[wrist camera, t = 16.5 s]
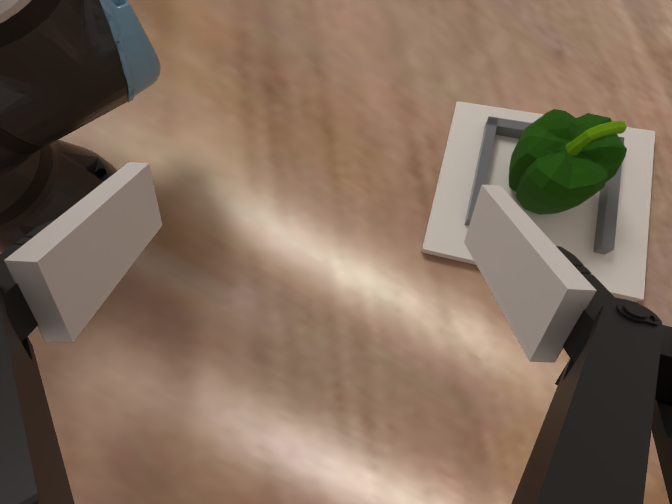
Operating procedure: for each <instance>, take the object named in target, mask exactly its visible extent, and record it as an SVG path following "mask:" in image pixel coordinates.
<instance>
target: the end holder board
mask: <svg viewBox="0 0 672 504" xmlns="http://www.w3.org/2000/svg"><path fill="white" fill-rule="evenodd" d="M543 115H544V114H537V113H531V112H524V111H517V110H511V109H504V108H498V107H491V106H484V105H478V104H471V103H465V102H458V101H457V103H456V107H455V111H454V115H453V119H452V123H451V128H450V132H449V136H448V140H447V145H446V149H445V153H444V157H443V162H442V166H441V170H440V174H439V179H438V183H437V187H436V191H435V196H434V200H433V204H432V208H431V213H430V217H429V221H428V225H427V230H426V234H425V238H424V242H423V247H422V251H421V252H422V253H426V254H430V255H435V256H439V257H443V258H448V259H452V260H456V261H461V262H465V263H469V264H474V265H476V263H475V261H474V260H473V258H472V256H471V254H470V252H469V250H468V249H467V247H466V245H465V243H464V241H465V238H466V234H467V231H468V228H469V224H470V221H471V218H472V215H473V211H474V208H475V205H476V201H477V198H478V195H479V192H480V188H481V185H498V186H501V187H502V188H503V189H504V190H505V191H506V192H507V194H508V195H509V196H510V197H511V198H512V199H513V200H514V201H515V202H516V203H517V204H518V205H519V207H520V208H521V209H522V210H523V211H524V212H525V213H526V214H527V215H528V216H529V217H530V219H531V220H532V221H533V222H534V223H535V224H536V225H537V226H538V227H539V228H540V229H541V231H542V232H543V233H544V234H545V235H546V236H547V237H548V238H549V239H550V240H551V241H552V242H553V244H554V245H555V246H561V247H562V248H564V249H565V250H567V251H569V252H570V253H572V254H573V255H575V256H576V257H577V258H578V259H579V260H580V261H581V262H582V264H583V265H584V267H586V268H587V269H588V270H589V271H590V272H591V275H594V276H595V277H596V278H597V279H598V280H599V281H600V282H601V283H602V284H603V285H604V286H605V287H606V289H607V290H608V291H609V292H610V293H611V294H612V295H613V296H614V297H616V298H621V299H626V300H630V301H633V302H637V301H640V300H644V287H645V273H646V258H647V243H648V228H649V214H650V199H651V184H652V170H653V155H654V140H655V131H650V130H643V129H637V128H630V127H626V130H625V131H624V132H623V133H622V134H617V135H618V137H619V138H620V140H621V141H622V143H623V144H624V146H625V147H626V148H627V152H626V156H625V158H624V160H623V162H622V164H621V166H620V168H619V169H618V171H617V173H616V175H615V176H614V177H612V178H611V179H610V180H609V181H607V182H606V183H605V186H604V188H602V189H601V190H600V191H599V192H597V193H596V194H595V195H594V196H592V197H591V198H589V199H588V200H586V201H585V202H583V203H582V204H580V205H578V206H576V207H574V208H571V209H569V210H566V211H563V212H560V213H556V214H543V215H539V214H536V213H533V212H531V211H528V210H526V209H524V208H523V207H522V205H521V204H520V202H519V201H518V200H517V198H516V193H517V192H516V191H514V190H512V189H511V188H510V187H509V166H510V161H511V155H512V153H513V151H514V149H515V147H516V145H517V143H518V141H519V139H520V137H521V135H522V133H523V131H524V129H525V128H526V127H528V126H529V125H530V124H532V123H533V122H535V121H536V120H537V119H539V118H540V117H541V116H543Z"/></svg>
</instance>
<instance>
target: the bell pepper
mask: <svg viewBox="0 0 672 504" xmlns="http://www.w3.org/2000/svg"><path fill="white" fill-rule="evenodd" d="M625 130H626V125H625V122H623V121H611V119H610V118H607V117H603V116H598V115H593V114H589V113H587V114H585V115H583V116H581V117H578V118H575V117H573V116H572V115H570V114H569V113H567V112H566V111H562V110H556V109H553V110H551V111H549V112H547V113H546V114H544V115H543V116H541V117H540V118H539V119H537V120H536V121H535V122H533V123H532V124H530V125H529V126H528V127H526V128H525V129H524V131H523V133H522V135H521V137H520V139H519V141H518V143H517V145H516V147H515V149H514V151H513V153H512V155H511V161H510V166H509V187H510V188H511V189H512V190H514V191H516V192H517V193H516V198H517V200H518V201H519V202H520V204H521V205H522V207H523V208H524V209H526V210H528V211H531V212H533V213H536V214H539V215H543V214H556V213H560V212H563V211H566V210H569V209H571V208H574V207H576V206H578V205H580V204H582V203H583V202H585V201H586V200H588V199H589V198H591V197H592V196H594V195H595V194H596V193H597V192H599V191H600V190H601V189H602V188H604V186H605V183H606V182H607V181H609V180H610V179H611V178H612V177H614V176H615V175H616V173H617V171H618V169H619V168H620V166H621V164H622V162H623V160H624V158H625V156H626V152H627V148H626V147H625V146H624V144H623V143H622V141H621V140H620V138H619V137H618V135H617V134H622V133H623V132H624V131H625Z"/></svg>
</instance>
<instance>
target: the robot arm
mask: <svg viewBox="0 0 672 504" xmlns="http://www.w3.org/2000/svg"><path fill="white" fill-rule="evenodd" d="M159 75H160V62H159V59H158V57H157V55H156V53H155V51H154V48H153V46H152V44H151V43H150V41H149V39H148V37H147V35H146V33H145V31H144V29H143V27H142V26H141V24H140V22H139V20H138V18H137V16H136V14H135V13H134V11H133V9H132V7H131V6H130V4H129V2H128V0H0V252H1V254H0V504H74V500H73V496H72V492H71V489H70V485H69V481H68V477H67V474H66V470H65V466H64V462H63V459H62V455H61V451H60V447H59V444H58V440H57V436H56V432H55V429H54V425H53V421H52V417H51V414H50V410H49V406H48V402H47V399H46V395H45V391H44V387H43V384H42V380H41V376H40V373H39V369H38V365H37V361H36V358H35V354H34V350H33V346H32V344H31V342H30V340H29V338H28V337H27V336H28V335H29V334H30V333H31V332H32V331H33V330H34V329H35V327H36V326H37V327H38V329H39V330H40V332H41V334H42V336H43V338H44V340H45V341H51V342H74V341H75V339H76V338H77V337H78V335H79V334H80V333H81V332H82V330H83V329H84V328H85V326H86V325H87V324H88V322H89V321H90V320H91V318H92V317H93V316H94V314H95V313H96V312H97V311H98V309H99V308H100V307H101V305H102V304H103V303H104V301H105V300H106V299H107V297H108V296H109V295H110V293H111V292H112V291H113V290H114V288H115V287H116V286H117V284H118V283H119V282H120V280H121V279H122V278H123V276H124V275H125V274H126V272H127V271H128V270H129V269H130V267H131V266H132V265H133V263H134V262H135V261H136V259H137V258H138V257H139V255H140V254H141V253H142V251H143V250H144V249H145V248H146V246H147V245H148V244H149V242H150V241H151V240H152V238H153V237H154V236H155V234H156V233H157V232H158V230H159V229H160V228H161V227H162V221H161V217H160V212H159V207H158V202H157V198H156V193H155V188H154V183H153V179H152V174H151V169H150V164H149V163H136V162H128V163H127V164H126V165H125V166H123V167H122V168H121V169H119V170H118V171H117V170H116V169H115V168H114V167H113V166H112V165H111V164H110V163H108V162H107V161H106V160H104V159H103V158H102V157H100V156H99V155H98V154H96V153H94V152H92V151H90V150H88V149H86V148H83V147H80V146H76V145H73V144H70V143H67V142H64V141H61V140H58V139H60V138H62V137H64V136H65V135H67V134H69V133H71V132H73V131H75V130H76V129H78V128H80V127H82V126H84V125H86V124H87V123H89V122H91V121H93V120H95V119H97V118H98V117H100V116H102V115H104V114H106V113H108V112H109V111H111V110H113V109H115V108H117V107H119V106H120V105H122V104H124V103H126V102H130V101H131V100H133V98H134V96H135V95H137V94H138V93H140V92H141V91H143V90H144V89H146V88H147V87H149V86H150V85H152V84H153V83H155V81H156V80H157V79H158V77H159ZM464 243H465V245H466V247H467V249H468V250H469V252H470V254H471V256H472V258H473V260H474V261H475V263H476V265H477V267H478V269H479V270H480V272H481V274H482V276H483V278H484V280H485V281H486V283H487V285H488V287H489V289H490V290H491V292H492V294H493V296H494V298H495V300H496V301H497V303H498V305H499V307H500V309H501V310H502V312H503V314H504V316H505V318H506V319H507V321H508V323H509V325H510V327H511V329H512V330H513V332H514V334H515V336H516V338H517V339H518V341H519V343H520V345H521V347H522V349H523V350H524V352H525V354H526V356H527V358H528V359H529V361H532V362H555V361H556V359H557V358H558V356H559V354H560V352H561V351H562V349H563V348H564V349H565V351H566V352H567V354H568V355H569V357H570V360H569V362H568V363H567V365H566V367H565V368H564V370H563V371H562V373H561V375H560V376H559V378H558V380H557V381H556V383H555V384H556V385H558V387H557V389H556V392H555V394H554V397H553V399H552V402H551V404H550V407H549V410H548V412H547V415H546V417H545V420H544V422H543V425H542V427H541V430H540V432H539V435H538V437H537V440H536V443H535V445H534V448H533V450H532V453H531V455H530V458H529V460H528V463H527V465H526V468H525V471H524V473H523V476H522V478H521V481H520V483H519V486H518V488H517V491H516V493H515V496H514V499H513V501H512V504H643V500H644V491H645V482H646V473H647V464H648V456H649V447H650V438H651V429H652V433H653V437H654V441H655V445H656V449H657V454H658V458H659V462H660V466H661V470H662V474H663V478H664V482H665V486H666V490H667V494H668V498H669V502H670V504H672V327H669V326H665V325H662V321H661V320H660V319H659V318H658V316H657V315H656V314H655V313H653V312H652V311H650V310H649V309H648V308H646V307H644V306H642V305H640V304H638V303H636V302H633V301H630V300H626V299H621V298H615V297H614V296H613V295H612V294H611V293H610V292H609V291H608V290H607V289H606V287H605V286H604V285H603V284H602V283H601V282H600V281H599V280H598V279H597V278H596V277H595V276H594V275H591V272H590V271H589V270H588V269H587V268H586V267H584V265H583V264H582V262H581V261H580V260H579V259H578V258H577V257H576V256H575V255H573V254H572V253H570V252H569V251H567V250H565V249H564V248H562V247H561V246H555V245H554V244H553V242H552V241H551V240H550V239H549V238H548V237H547V236H546V235H545V234H544V233H543V232H542V231H541V229H540V228H539V227H538V226H537V225H536V224H535V223H534V222H533V221H532V220H531V219H530V217H529V216H528V215H527V214H526V213H525V212H524V211H523V210H522V209H521V208H520V207H519V205H518V204H517V203H516V202H515V201H514V200H513V199H512V198H511V197H510V196H509V195H508V194H507V192H506V191H505V190H504V189H503V188H502V187H501V186H498V185H481V188H480V192H479V195H478V198H477V201H476V205H475V208H474V211H473V215H472V218H471V221H470V224H469V228H468V231H467V234H466V238H465V241H464Z"/></svg>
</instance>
